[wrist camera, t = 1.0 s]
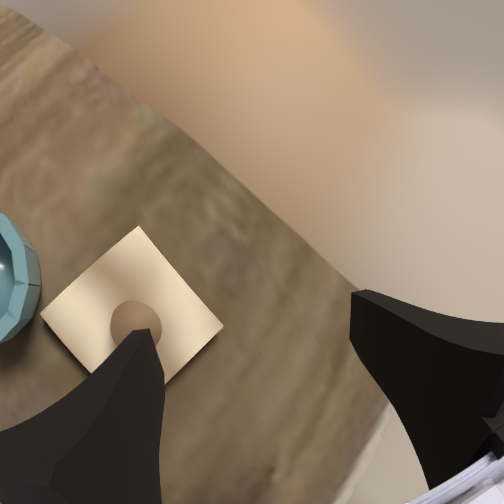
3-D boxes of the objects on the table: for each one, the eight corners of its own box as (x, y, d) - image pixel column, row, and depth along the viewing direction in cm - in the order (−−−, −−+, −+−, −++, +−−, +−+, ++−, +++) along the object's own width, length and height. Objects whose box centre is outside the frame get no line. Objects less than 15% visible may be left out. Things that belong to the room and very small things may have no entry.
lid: (132, 409, 19) (139, 438, 14) (43, 312, 17) (23, 317, 12) (219, 325, 22) (247, 331, 18) (137, 228, 21) (144, 209, 16)
